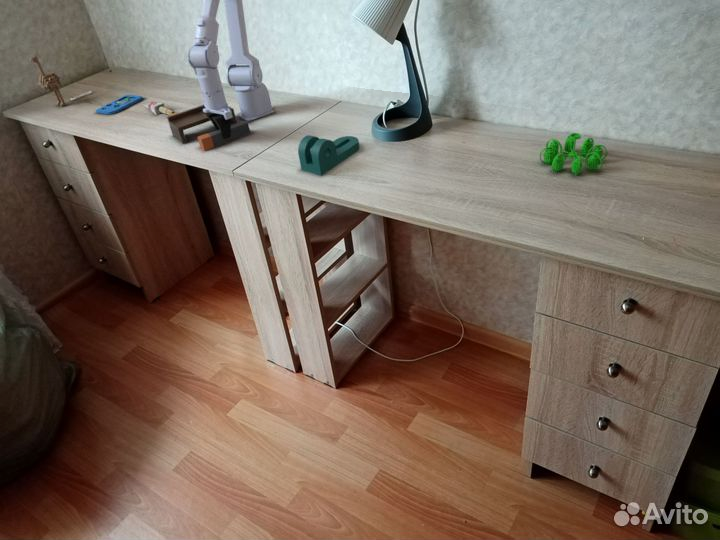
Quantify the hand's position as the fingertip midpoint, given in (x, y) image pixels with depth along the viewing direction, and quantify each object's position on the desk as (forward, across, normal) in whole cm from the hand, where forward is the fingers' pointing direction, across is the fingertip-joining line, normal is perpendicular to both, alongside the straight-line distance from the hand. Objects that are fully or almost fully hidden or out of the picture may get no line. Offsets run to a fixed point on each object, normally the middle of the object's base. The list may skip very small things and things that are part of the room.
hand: (224, 136), depth 162 cm
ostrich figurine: (+2, -81, -24) cm, 84 cm away
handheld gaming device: (+1, -59, -13) cm, 60 cm away
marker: (+1, 0, 0) cm, 1 cm away
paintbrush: (+2, -39, -5) cm, 39 cm away
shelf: (+1, -12, -1) cm, 13 cm away
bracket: (+2, +34, +15) cm, 37 cm away
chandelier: (+2, +80, +52) cm, 95 cm away
